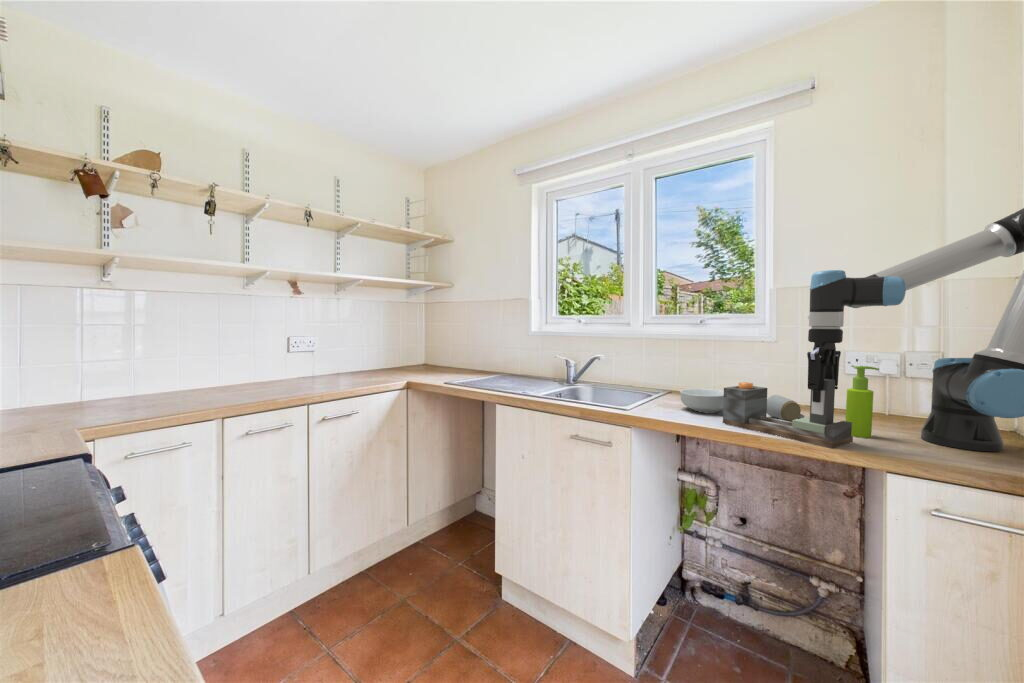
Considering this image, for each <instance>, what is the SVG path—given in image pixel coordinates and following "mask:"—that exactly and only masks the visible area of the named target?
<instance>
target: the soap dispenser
mask: <svg viewBox="0 0 1024 683" xmlns="http://www.w3.org/2000/svg"><path fill="white" fill-rule="evenodd" d="M853 369H855V370H856V376H854V377H852V388H851V387H850V388H847V389H846V400H845V402H846V403H845V404H846V405H845V421H847V422H852V432H851V436H853V438H860V437H861V439H870V438H872V428H873V412H874V411H873V408H874V407H873V406H874V390H871V389H869V378H868V377H866V376H865V372H866V370H875V371H879V370H880V368H877V367H874V366H867V365H860V366H859V365H857V366H853Z"/></svg>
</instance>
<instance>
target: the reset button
mask: <svg viewBox="0 0 1024 683" xmlns="http://www.w3.org/2000/svg"><path fill="white" fill-rule="evenodd" d="M738 386H739V388H741V389H748V390H750V389H753V386H754V384H753V382H745V381H743V382H742V381H741V382H738Z"/></svg>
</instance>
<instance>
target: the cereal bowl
mask: <svg viewBox="0 0 1024 683" xmlns="http://www.w3.org/2000/svg"><path fill="white" fill-rule="evenodd" d="M679 392H680V396H679V397H680V400H681V403H682V404H683V405H684V406H686V407H687V408H689V409H692V411H694V410H695V411H694V412H696V411H699V412H698V413H701V412H707V413H706V414H715V413H717V412H718V411H720V410H723V400H724V390H719V389H713V388H712V389H711V388H685V389H684V388H683V389H681V390H680V391H679ZM714 412H715V413H714Z"/></svg>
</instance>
